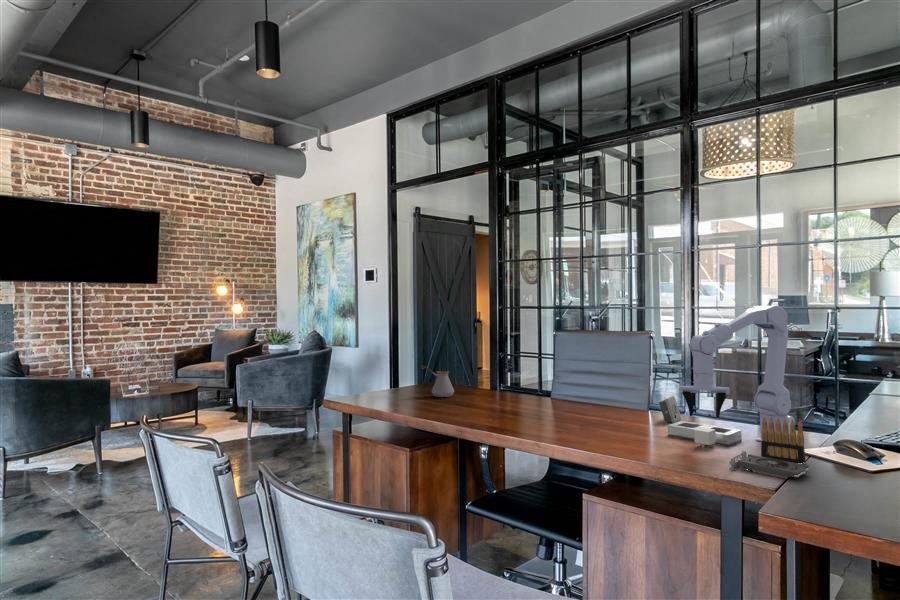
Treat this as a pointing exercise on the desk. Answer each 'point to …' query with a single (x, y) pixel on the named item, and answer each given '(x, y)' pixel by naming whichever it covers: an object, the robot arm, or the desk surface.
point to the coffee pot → (441, 384)
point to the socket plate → (687, 428)
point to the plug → (705, 436)
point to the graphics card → (767, 465)
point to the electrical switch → (670, 410)
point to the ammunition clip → (783, 442)
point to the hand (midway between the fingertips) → (704, 416)
